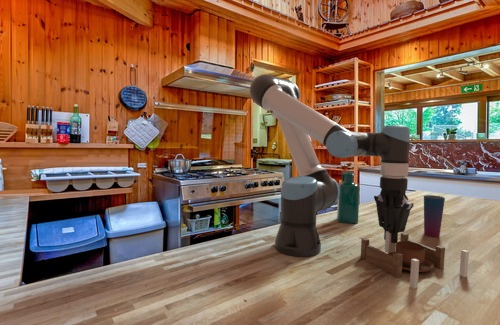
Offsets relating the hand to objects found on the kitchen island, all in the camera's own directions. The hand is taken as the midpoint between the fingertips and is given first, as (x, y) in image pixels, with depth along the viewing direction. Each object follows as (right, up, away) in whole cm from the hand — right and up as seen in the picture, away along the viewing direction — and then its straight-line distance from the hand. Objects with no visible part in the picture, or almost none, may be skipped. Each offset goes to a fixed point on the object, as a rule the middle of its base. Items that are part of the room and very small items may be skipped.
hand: (390, 251), depth 89 cm
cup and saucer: (+2, -3, -6) cm, 7 cm away
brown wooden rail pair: (+1, -2, -4) cm, 4 cm away
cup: (+27, -1, +21) cm, 34 cm away
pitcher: (0, +1, +41) cm, 41 cm away
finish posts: (+5, -3, -15) cm, 16 cm away
